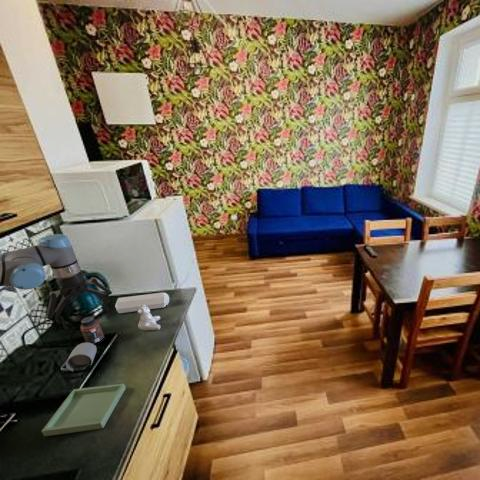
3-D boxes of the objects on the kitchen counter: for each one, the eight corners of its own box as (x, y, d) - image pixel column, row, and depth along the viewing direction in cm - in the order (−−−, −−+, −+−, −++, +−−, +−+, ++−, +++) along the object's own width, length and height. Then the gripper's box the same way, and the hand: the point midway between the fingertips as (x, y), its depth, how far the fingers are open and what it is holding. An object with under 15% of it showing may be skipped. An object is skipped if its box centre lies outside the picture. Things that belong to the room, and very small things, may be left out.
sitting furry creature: (161, 330, 120) (154, 308, 115) (138, 336, 116) (131, 314, 111) (160, 317, 127) (155, 296, 122) (139, 323, 123) (133, 302, 119)
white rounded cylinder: (109, 311, 125) (166, 303, 131) (113, 297, 129) (167, 290, 135) (117, 317, 131) (170, 309, 137) (120, 303, 135) (172, 296, 141)
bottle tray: (44, 436, 78) (41, 431, 77) (75, 394, 90) (73, 389, 90) (103, 428, 80) (100, 423, 80) (125, 388, 93) (124, 383, 92)
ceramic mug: (100, 352, 107) (93, 337, 104) (95, 367, 101) (88, 352, 98) (66, 362, 103) (58, 346, 100) (59, 378, 96) (50, 362, 93)
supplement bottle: (103, 342, 112) (95, 321, 108) (85, 348, 109) (76, 326, 105) (105, 333, 117) (97, 313, 112) (88, 338, 114) (79, 317, 110)
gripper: (24, 292, 89) (49, 341, 97) (111, 264, 108) (126, 306, 116) (19, 285, 93) (44, 332, 102) (104, 259, 112) (119, 300, 120)
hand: (87, 319), depth 109 cm, fingers open, 13 cm apart
